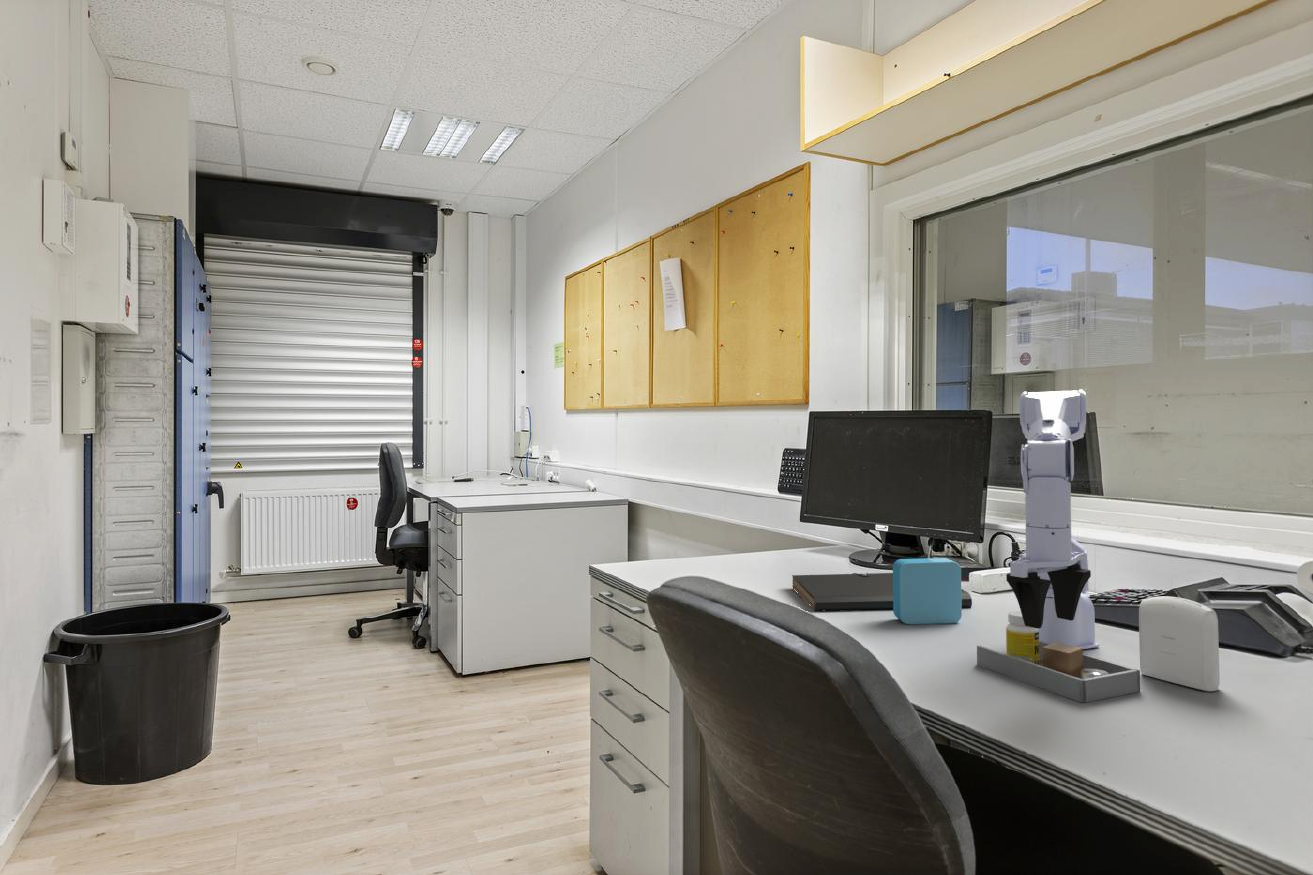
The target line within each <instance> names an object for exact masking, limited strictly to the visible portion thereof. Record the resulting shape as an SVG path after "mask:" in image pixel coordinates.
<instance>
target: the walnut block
mask: <svg viewBox="0 0 1313 875" xmlns="http://www.w3.org/2000/svg"><path fill="white" fill-rule="evenodd" d="M1083 654H1084V649H1083V648H1080V647H1075V646H1070V645H1066V644H1061V643H1056V642H1055V643H1053V644H1050V645H1047V646H1044V647H1042V661H1041V663H1042V665H1041V666H1043V667H1046V668H1049V669H1052V670H1055V671H1058V672H1061V673H1064V674H1067V675H1070V676H1073V677H1076V678H1079V679H1081V670H1082V669H1083Z"/></svg>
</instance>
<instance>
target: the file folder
mask: <svg viewBox="0 0 1313 875" xmlns="http://www.w3.org/2000/svg"><path fill="white" fill-rule="evenodd" d="M791 577H792V588H793V589H795V590H796V591H797V592H798V594H799V595H800V596H801V597H802V598H803V599H804V600H805V601H806V602H807V603H808V604H810V605H811V606H812V608H811V609H812V610H813V611H814V612H817V611H819V612H841V611H840V610H859V611H884V610H885V611H891V610H892V611H893V572H882V573H881V572H879V573H875V572H874V573H873V572H871V573H868V572H866V573H858V572H857V573H856V572H853V573H841V574H839V573H838V574H837V573H833V574H795V575H794V574H792V575H791ZM793 589H792V590H793ZM798 594H797V595H798ZM799 595H798V596H799ZM800 596H799V597H800ZM801 597H800V598H801ZM961 597H962V609H966V608H967V609H968V608H969V609H970V608H971V609H972V605H973V599H972V597H971V594H970V593H969V592H968V591H966V590H964V589H963V588H961ZM802 598H801V599H802ZM803 599H802V600H803ZM804 600H803V601H804ZM805 601H804V602H805ZM806 602H805V603H806ZM807 603H806V604H807ZM808 604H807V605H808ZM823 610H825V611H823Z"/></svg>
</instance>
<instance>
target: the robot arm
mask: <svg viewBox="0 0 1313 875" xmlns="http://www.w3.org/2000/svg"><path fill="white" fill-rule="evenodd" d="M1019 422H1020V423H1019V424H1020V426H1021V430H1022V433H1023V435H1024V437H1025V439H1027V440H1026V444H1021V448H1020V474H1021V477H1022V483H1023V484H1022V485H1023V487H1022V488H1023V493H1024V494H1025V497H1024V500H1025V501H1024V503H1025V505H1024V506H1025V510H1024V511H1025V512H1024V514H1025V515H1024V516H1025V548H1024V553H1019V555H1018V557H1019V558H1018V559H1016V560H1012V561H1010V562H1009V564H1010V565H1009V569H1010V572H1009V573H1006V575H1005V576H1006V582H1007V584H1008V585H1009V586H1010V589H1012V592H1013V593H1014V596H1015V598H1016V600H1017V603H1018V605H1019V606H1018V607H1019V608H1020V610H1019V611H1021V613H1022V617H1023V620H1024V624H1025V626H1028V627H1033V628H1037V629H1039V641H1042V642H1046V643H1049V644H1053V643H1055V642H1056V643H1061V644H1066V645H1070V646H1075V647H1080V648H1083V650H1087V649H1094V648H1098V647H1100V643H1098V642H1096V636H1095V635H1096V630H1095V629H1096V628H1095V627H1096V626H1095V622H1096V621H1095V616H1096V615H1095V607H1094V604H1093V602H1092V600H1091V598H1090V597H1088V595H1086V593H1087V592H1088V591H1089V580H1090V578H1091V576H1092V572H1091V570H1090V569H1089V559H1088V551H1087V549H1086V547H1085V546H1084V545H1083V544H1081V543H1079V542H1078V541H1077V540H1075V539H1074V538H1072V504H1071V502H1072V494H1071V493H1072V492H1071V490H1072V489H1071V487H1072V485H1071V482H1073V479H1074V475H1075V453H1074V452H1075V451H1074V450H1075V448H1074V445H1073V442H1074V441H1078V440H1079V439H1083V438H1084V436H1085V435H1084V434H1085V433H1086V425H1087V394H1086V392H1085V391H1084V389H1078V390H1060V391H1059V390H1057V391H1056V390H1055V391H1038V392H1037V391H1031V392H1028V391H1023V392H1022V393H1021V394H1020V396H1019ZM1069 479H1070V481H1071V482H1070V481H1069Z"/></svg>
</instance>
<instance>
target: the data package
mask: <svg viewBox="0 0 1313 875" xmlns="http://www.w3.org/2000/svg"><path fill="white" fill-rule="evenodd" d="M892 573H893V610H892V612H893V615H894V616H895V618H897V619H898V620H899V621H901V622H903V623H904V624H905V625H933V624H934V625H935V624H936V625H937V624H943V625H944V624H956V623H958V622H960V620H961V619H962V615H963V608H962V597H961V589H962V567H961V565H960V564H959V563H958V562H956V561H955V560H954V561H953V560H951V559H949V558H946V557H939V558H938V557H933V558H927V557H926V558H899V559H897V560H895V561H894V562H893V565H892Z"/></svg>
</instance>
